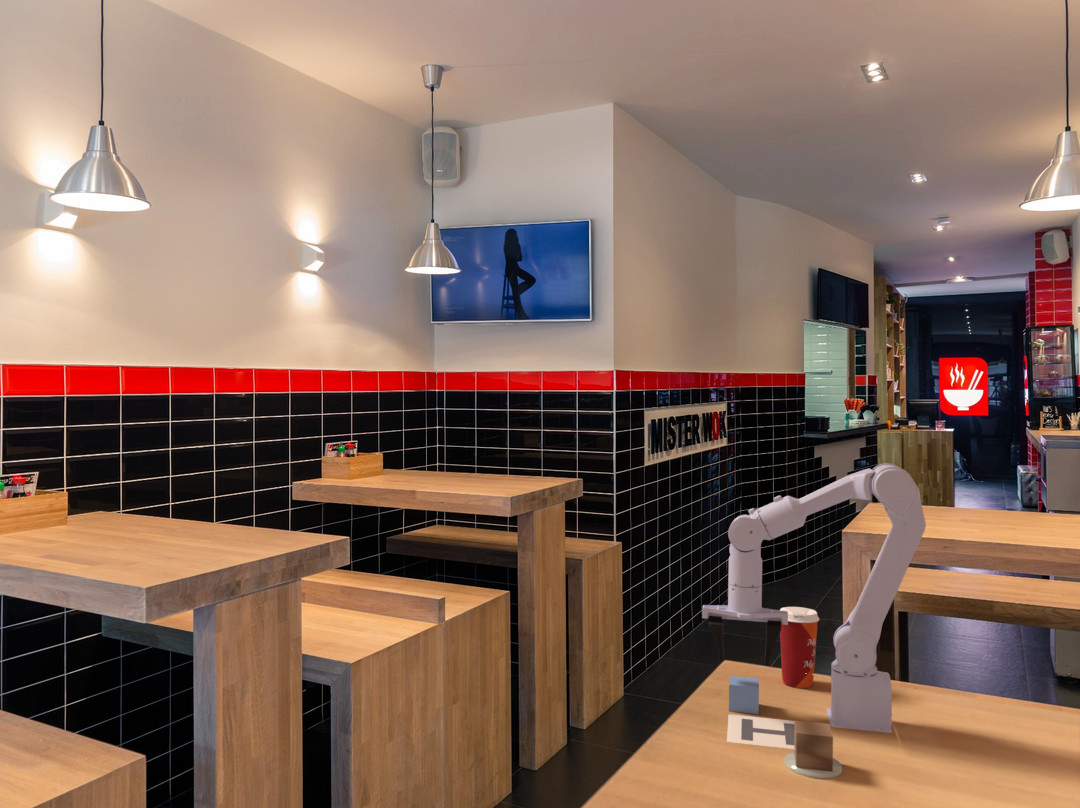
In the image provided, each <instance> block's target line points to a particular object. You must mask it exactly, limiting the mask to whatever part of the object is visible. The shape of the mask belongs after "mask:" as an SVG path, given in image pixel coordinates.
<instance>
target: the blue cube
mask: <svg viewBox="0 0 1080 808" xmlns="http://www.w3.org/2000/svg"><path fill="white" fill-rule="evenodd" d="M759 681H760V679H759V677H749V676H747V677H746V676H736V675H729V680H728V682H729V683H728V712H731V713H732V712H734V713H743V714H744V713H745V714H751V715H752V714H755V715H759V714H760V713H759V712H760V711H759V710H760V707H759V705H760V685H759V684H760V683H759Z"/></svg>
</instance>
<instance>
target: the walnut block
mask: <svg viewBox="0 0 1080 808" xmlns="http://www.w3.org/2000/svg"><path fill="white" fill-rule="evenodd" d="M794 721H795V735H794V749H793V750H794V755H795V763H796V768H804V769H812V770H821V771H830V772H833V758H834V756H833V755H834V753H833V752H834V750H833V749H834V736H833V731H832V727H831V726H830V723H822V722H816V721H815V722H812V721H803V720H794Z"/></svg>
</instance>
